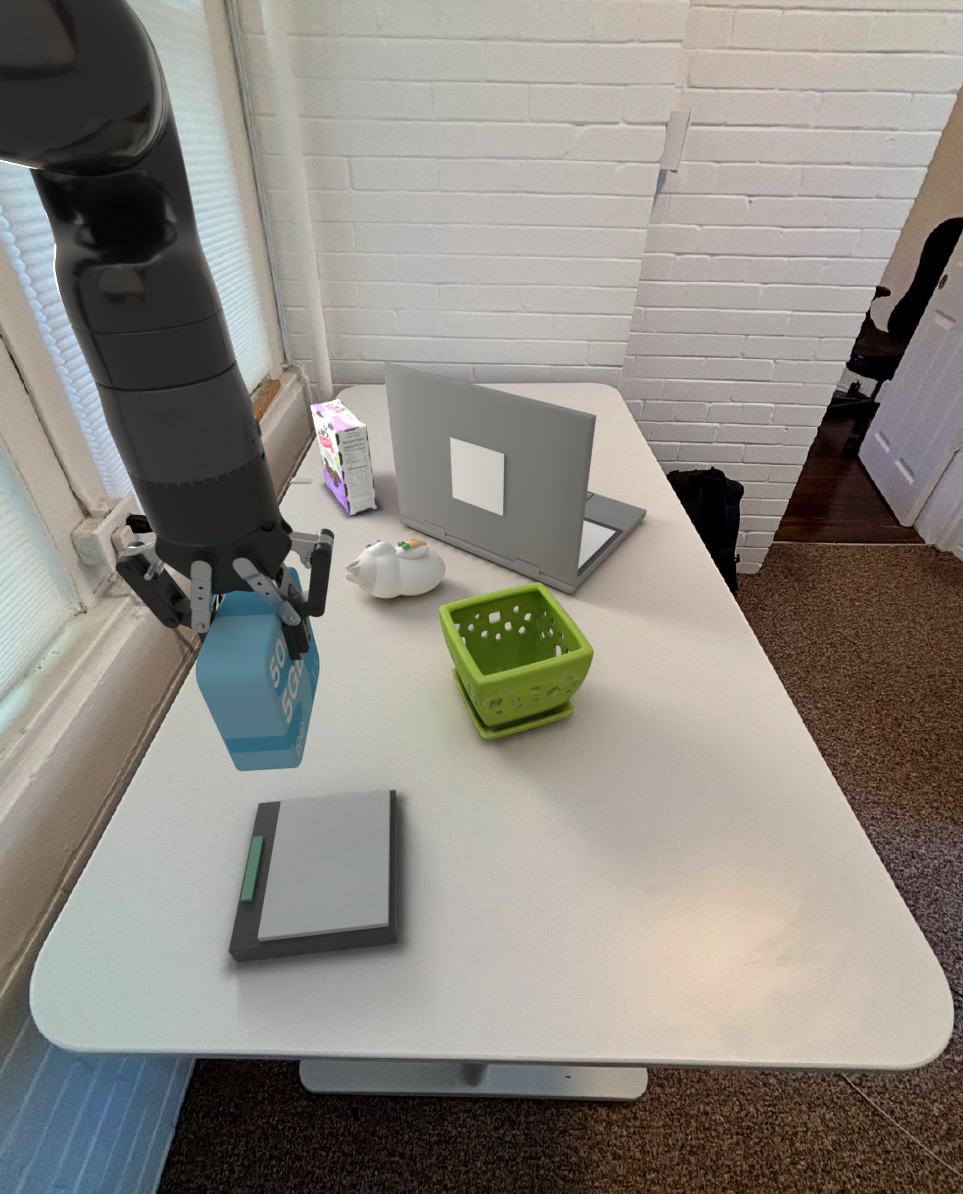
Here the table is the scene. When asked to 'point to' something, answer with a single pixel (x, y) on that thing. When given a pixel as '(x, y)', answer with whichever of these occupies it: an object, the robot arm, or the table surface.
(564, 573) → the laptop
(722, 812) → the table surface
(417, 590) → the cat figurine
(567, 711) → the flower pot
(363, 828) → the scale
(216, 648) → the blue rounded block
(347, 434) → the candy box
